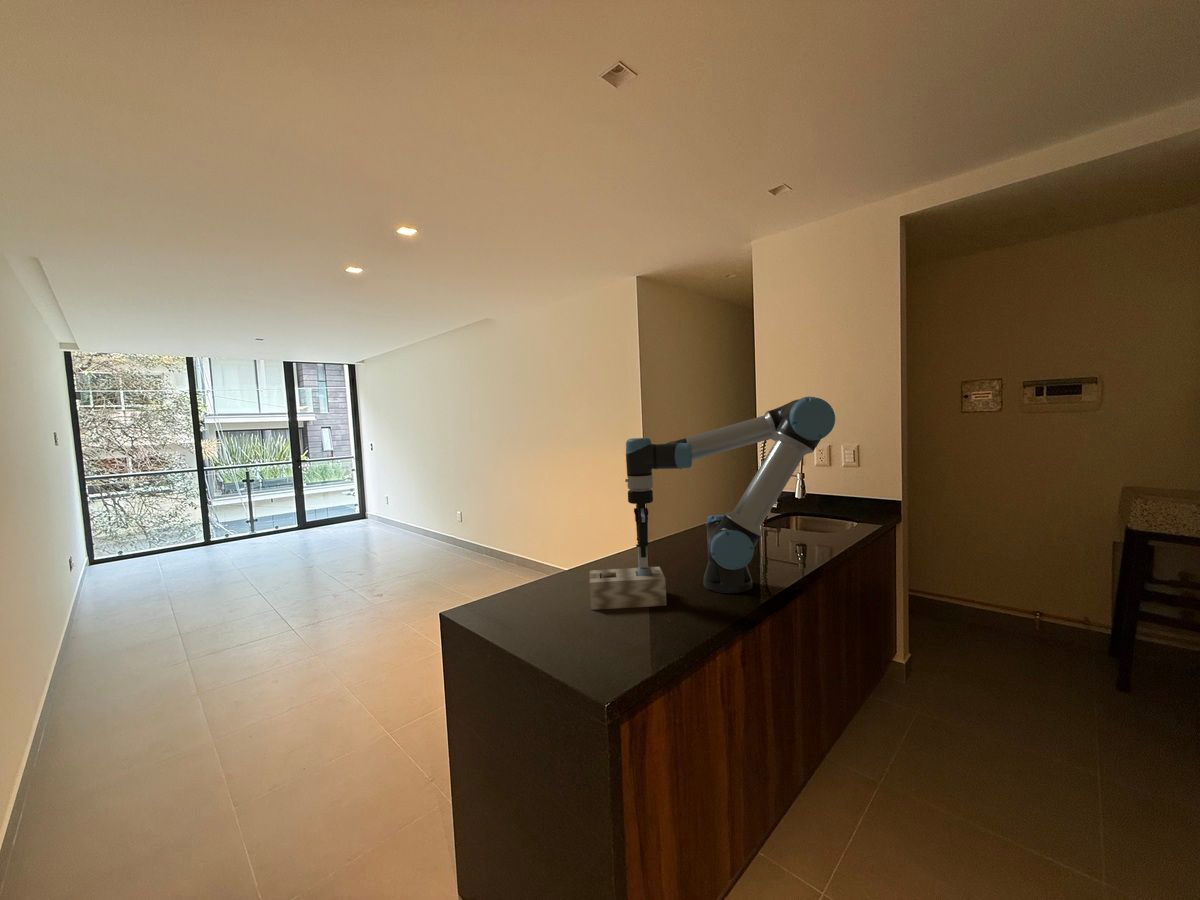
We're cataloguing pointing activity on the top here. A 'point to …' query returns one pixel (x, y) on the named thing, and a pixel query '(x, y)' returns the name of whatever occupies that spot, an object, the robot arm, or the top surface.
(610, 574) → the walnut peg
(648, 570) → the blue peg
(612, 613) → the top surface
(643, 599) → the birch block
